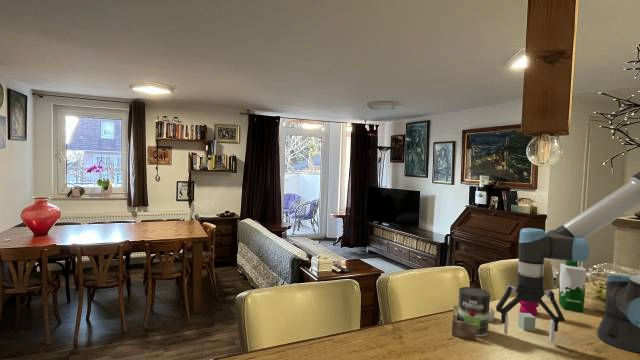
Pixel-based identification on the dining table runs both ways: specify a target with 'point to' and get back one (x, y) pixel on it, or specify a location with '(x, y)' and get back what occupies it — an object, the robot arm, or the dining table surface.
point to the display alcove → (462, 327)
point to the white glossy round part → (491, 315)
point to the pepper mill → (529, 307)
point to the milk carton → (572, 286)
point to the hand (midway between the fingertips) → (528, 336)
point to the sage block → (526, 321)
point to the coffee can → (474, 308)
